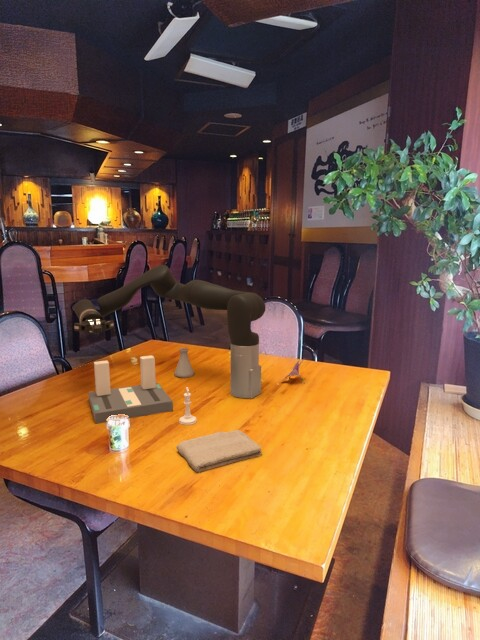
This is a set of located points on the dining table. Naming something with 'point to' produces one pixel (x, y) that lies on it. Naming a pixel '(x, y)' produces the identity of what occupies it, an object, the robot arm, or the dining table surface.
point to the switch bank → (130, 402)
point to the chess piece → (187, 411)
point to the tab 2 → (147, 372)
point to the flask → (184, 365)
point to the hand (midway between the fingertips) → (97, 330)
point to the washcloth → (218, 449)
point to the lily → (295, 371)
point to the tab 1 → (102, 378)
